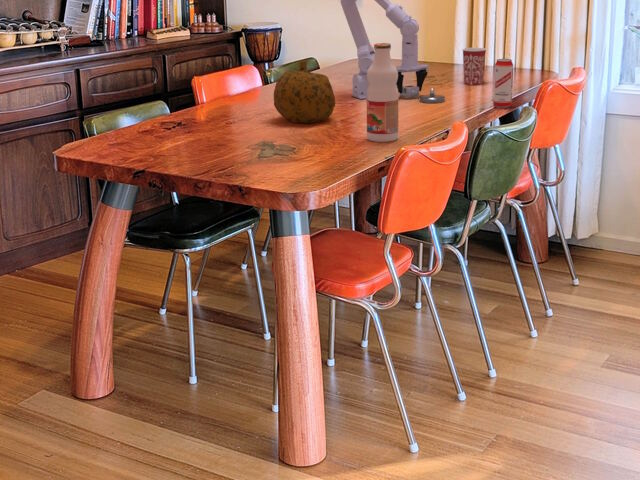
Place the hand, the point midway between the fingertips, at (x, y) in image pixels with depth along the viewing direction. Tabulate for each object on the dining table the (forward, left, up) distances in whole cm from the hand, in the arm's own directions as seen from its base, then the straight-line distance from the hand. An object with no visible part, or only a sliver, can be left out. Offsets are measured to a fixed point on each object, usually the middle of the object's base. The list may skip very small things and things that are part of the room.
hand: (409, 91), depth 335 cm
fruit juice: (-37, -56, -2) cm, 67 cm away
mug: (+36, +15, -2) cm, 39 cm away
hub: (+4, -10, -2) cm, 11 cm away
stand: (0, 0, -2) cm, 2 cm away
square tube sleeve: (0, 0, -2) cm, 2 cm away
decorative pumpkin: (-48, -20, -2) cm, 52 cm away
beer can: (+20, -31, -2) cm, 37 cm away
